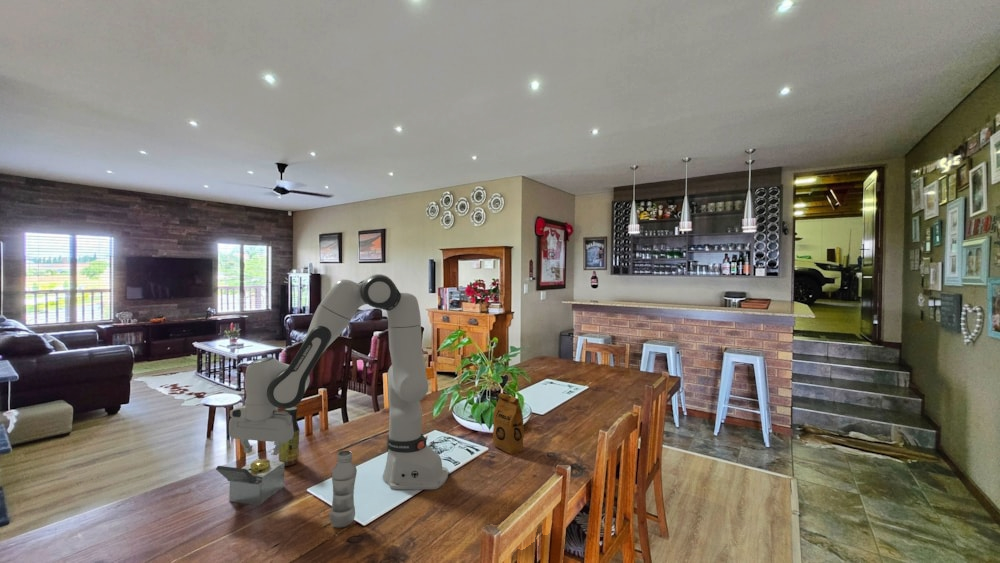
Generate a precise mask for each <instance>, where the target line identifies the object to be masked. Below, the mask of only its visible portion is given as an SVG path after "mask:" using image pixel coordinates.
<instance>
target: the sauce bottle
mask: <svg viewBox="0 0 1000 563" xmlns="http://www.w3.org/2000/svg"><path fill="white" fill-rule="evenodd" d="M284 411H286V412H288V413H289V414H290V415H292V423H293V430H294V436H293V438H292V439H291V440H289V441H288V442H286V443H282V445H281V446H280V448H279V454H278V458H279V459H278V460H279V462H285V463H284V467H287V466H292V465H295V464H296V463H297V462H298V460H299V459H298V458H299V450H300V448H299V447H300V433H301V432H300V427H299V424H298V420H297V415H298V414H297V413H298V407H297V406H294V407H292V408H288V409H284Z"/></svg>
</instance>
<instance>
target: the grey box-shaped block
mask: <svg viewBox="0 0 1000 563" xmlns="http://www.w3.org/2000/svg"><path fill="white" fill-rule="evenodd" d="M261 459H262V458H261ZM261 459H259V458H256V459H255V460H252V461H251V462H249V463H248V464H246V465H244V466H242V467H241V468H242V469H247V470H248V471H249V472H250V473H251V474H252V475H253V476H254V477H255V478H256V479H257V480H259V483H258V484H248V483H240V482H232V481H229V493H228V496H229V497H228V500H229V502H231V503H239V504H248V505H253V506H260V505H261V504H263V503H264V502H265V501H267V500H268V499H269V498H271V497H272V496H273V495H275V494H276V493H277V492H279V491H280V490H281V489H283V488H284V487H285V466H284V463H285V462H279V461H280V460H279V461H278V460H269V459H268V460H269V461H270V467H269V468H268V469H266V470H263V471H261V472H253V471H251V470H250V467H251V463H252V462H254V461H257V460H261Z"/></svg>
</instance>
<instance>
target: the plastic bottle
mask: <svg viewBox="0 0 1000 563" xmlns="http://www.w3.org/2000/svg"><path fill="white" fill-rule="evenodd" d="M352 455H353V454H352V451H351V450H342V451H339V452H338V453H337V458H336V461H337V463H336V464H335V466H333V469H332V471H331V482H332V503H331V509H330V512H329V522H330V524H331V526H332V527H334V528H337V529H339V528H341V529H342V528H346V527H348V526H350V525H351V524H352V523H353V522H354V520H355V516H356V508H355V507H356V506H355V497H354V494H355V493H354V492H355V484H356V478H357V477H356V476H357V473H358V472H357V467H356V465H355V463H353V462H352V460H353V456H352Z"/></svg>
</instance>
